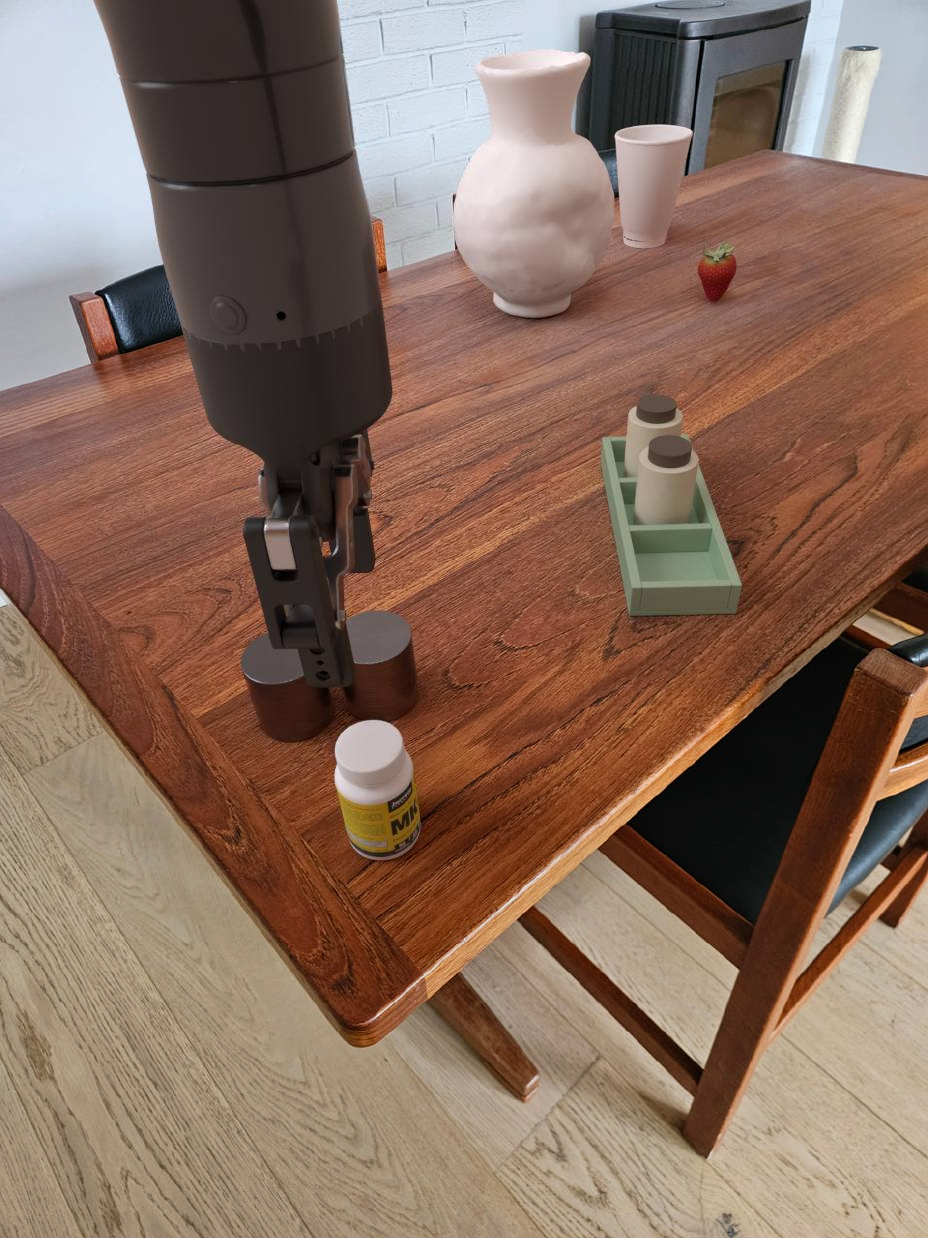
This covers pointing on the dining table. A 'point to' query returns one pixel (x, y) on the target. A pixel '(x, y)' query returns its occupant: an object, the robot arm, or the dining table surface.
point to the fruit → (717, 271)
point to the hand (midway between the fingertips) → (345, 621)
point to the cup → (649, 179)
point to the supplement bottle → (377, 790)
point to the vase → (533, 187)
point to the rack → (669, 550)
